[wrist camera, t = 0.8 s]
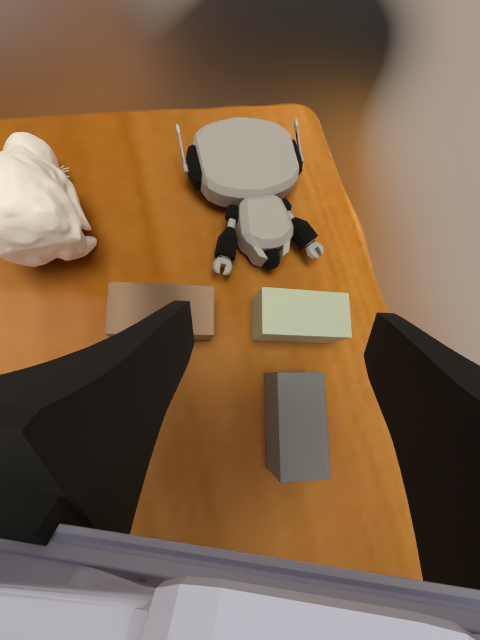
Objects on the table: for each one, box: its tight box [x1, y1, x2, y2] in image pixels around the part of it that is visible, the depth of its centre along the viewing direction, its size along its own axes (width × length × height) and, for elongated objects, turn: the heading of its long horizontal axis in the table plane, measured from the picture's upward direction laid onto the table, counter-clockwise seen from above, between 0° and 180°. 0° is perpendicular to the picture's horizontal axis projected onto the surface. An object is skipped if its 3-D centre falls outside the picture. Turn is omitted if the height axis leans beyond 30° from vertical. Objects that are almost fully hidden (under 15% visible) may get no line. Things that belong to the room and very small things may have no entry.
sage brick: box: [252, 287, 352, 343], centre depth 25 cm, size 8×4×4 cm, turn 90°
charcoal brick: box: [264, 372, 331, 483], centre depth 23 cm, size 8×4×4 cm, turn 0°
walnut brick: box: [105, 282, 214, 341], centre depth 23 cm, size 8×4×4 cm, turn 91°
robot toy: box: [176, 117, 324, 276], centre depth 27 cm, size 12×4×15 cm
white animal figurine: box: [0, 132, 97, 267], centre depth 21 cm, size 6×8×12 cm
